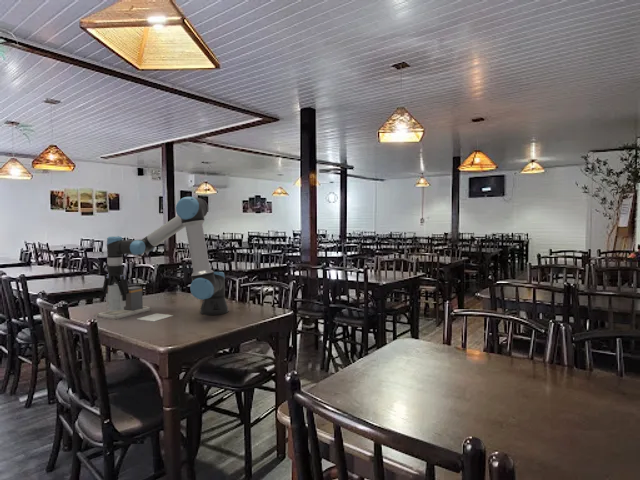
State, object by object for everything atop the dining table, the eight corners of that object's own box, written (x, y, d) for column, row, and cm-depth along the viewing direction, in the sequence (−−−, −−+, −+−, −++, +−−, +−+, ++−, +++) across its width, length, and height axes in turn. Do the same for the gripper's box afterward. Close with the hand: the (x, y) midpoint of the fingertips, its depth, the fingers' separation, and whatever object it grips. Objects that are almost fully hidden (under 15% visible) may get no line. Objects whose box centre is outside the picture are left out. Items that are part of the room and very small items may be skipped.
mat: (173, 315, 228) (173, 315, 228) (153, 321, 215) (153, 321, 215) (156, 313, 232) (156, 313, 232) (136, 319, 220) (136, 318, 220)
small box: (124, 309, 227) (123, 285, 226) (111, 311, 223) (110, 286, 222) (120, 307, 233) (119, 283, 233) (107, 308, 229) (107, 285, 229)
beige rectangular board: (151, 310, 242) (150, 307, 242) (116, 319, 220) (116, 316, 220) (132, 308, 247) (132, 305, 247) (97, 316, 225) (97, 313, 225)
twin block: (142, 309, 241) (142, 287, 241) (131, 312, 234) (131, 289, 233) (134, 308, 244) (134, 286, 243) (123, 311, 236) (122, 288, 236)
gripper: (136, 265, 226) (136, 306, 227) (106, 263, 235) (107, 302, 236) (124, 266, 219) (125, 309, 220) (94, 264, 228) (95, 305, 229)
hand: (115, 305), depth 228 cm, fingers closed on small box, 10 cm apart
